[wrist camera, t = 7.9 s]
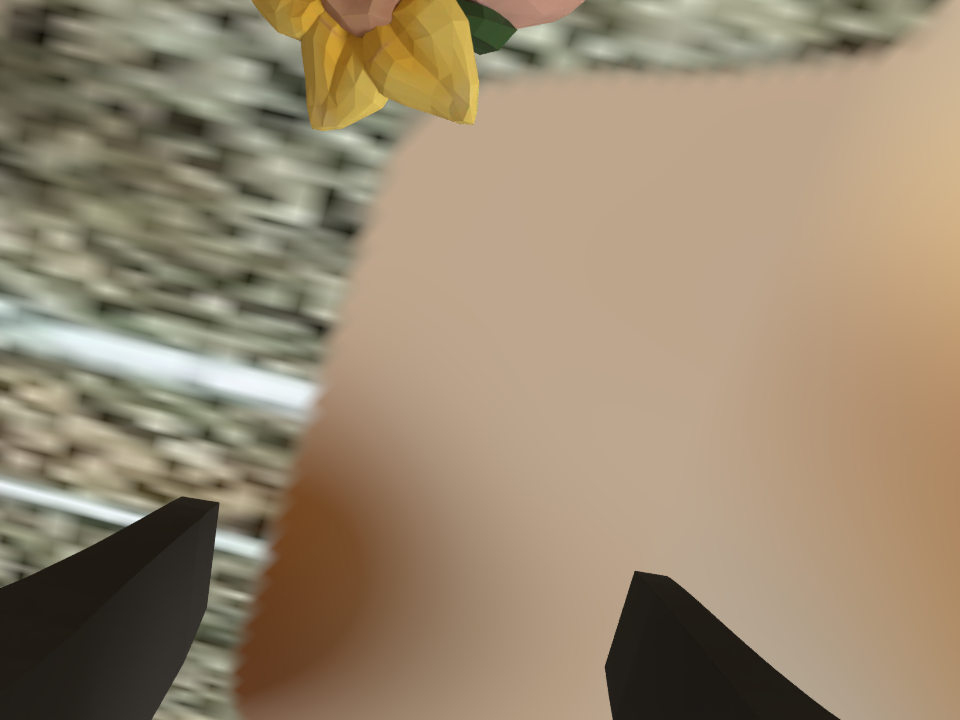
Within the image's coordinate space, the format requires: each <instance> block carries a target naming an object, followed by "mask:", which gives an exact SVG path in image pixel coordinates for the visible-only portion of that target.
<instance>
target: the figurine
mask: <svg viewBox="0 0 960 720" xmlns="http://www.w3.org/2000/svg"><path fill="white" fill-rule="evenodd" d="M584 1H585V0H252V2H253V3H254V4H255V6H256V7H257V9H258V10H259V11H260V13H261V14H262V16H263V17H264V18H265V19H266V20H267V21H268V22H269V23H270V24H271V25H272V26H273V27H274V28H275V30H276V31H277V32H279V33H281V34H284V35H286V36H289V37H292V38H294V39H297V40H299V41H301V49H302V57H303V65H304V72H305V79H306V97H307V109H308V114H309V119H310V123H311V126H312V129H316V130H320V131H326V130H335V129H342V128H344V127H346V126H348V125H350V124H352V123H354V122H356V121H358V120H360V119H362V118H364V117H366V116H368V115H370V114H372V113H374V112H376V111H378V110H380V109H382V108H383V106H384V105H385V103H386V102H387V100H388V99H391V100H393V101H396V102H398V103H400V104H402V105H405V106H408V107H411V108H414V109H417V110H420V111H424V112H427V113H430V114H433V115H436V116H439V117H442V118H445V119H447V120H450V121H453V122H456V123H458V124H472V125H473V124H474V121H475V117H476V113H477V106H478V93H479V79H478V73H477V68H476V62H475V56H474V52H475V53H477V54H479V55H482V54H486V53H490V52H494V51H498V50H500V48H501V47H502V46H503V45H504V44H505V43H506V42H507V41H508V40H509V38H510V37H511V36H512V35H513V34H514V33H515V32H516V31H517V29H518V28H523V27H529V26H534V25H539V24H545V23H550V22H554V21H556V20H558V19H560V18H562V17H564V16H566V15H568V14H569V13H570V12H572V11H573V10H574V9H575V8H576V7H578V6H579V5H580V4H581V3H583V2H584Z"/></svg>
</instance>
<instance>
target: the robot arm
mask: <svg viewBox="0 0 960 720" xmlns="http://www.w3.org/2000/svg"><path fill="white" fill-rule="evenodd" d="M218 511H219V502H213V501H206V500H200V499H194V498H188V497H180V498H178V499H176V500H174V501H172V502H170V503H168V504H167V505H165V506H163V507H161V508H159V509H158V510H156V511H154V512H152V513H151V514H149V515H147V516H145V517H144V518H142V519H140V520H138V521H136V522H135V523H133V524H131V525H129V526H127V527H126V528H124V529H122V530H120V531H118V532H116V533H115V534H113V535H111V536H109V537H107V538H105V539H103V540H102V541H100V542H98V543H96V544H94V545H92V546H90V547H88V548H86V549H84V550H82V551H80V552H78V553H76V554H74V555H72V556H70V557H68V558H66V559H64V560H62V561H60V562H57V563H55V564H53V565H51V566H49V567H47V568H45V569H43V570H41V571H39V572H37V573H35V574H33V575H30V576H28V577H26V578H23V579H21V580H19V581H17V582H14V583H12V584H9V585H7V586H5V587H2V588H0V720H152V718H153V716H154V714H155V713H156V711H157V709H158V707H159V706H160V704H161V702H162V700H163V699H164V697H165V695H166V693H167V691H168V690H169V688H170V686H171V684H172V683H173V681H174V679H175V677H176V676H177V674H178V672H179V670H180V668H181V667H182V665H183V663H184V661H185V659H186V656H187V654H188V652H189V649H190V647H191V645H192V642H193V640H194V638H195V635H196V633H197V630H198V628H199V625H200V623H201V620H202V618H203V616H204V613H205V611H206V608H207V602H208V594H209V585H210V577H211V569H212V560H213V552H214V544H215V535H216V527H217V519H218ZM605 672H606V679H607V686H608V693H609V700H610V706H611V712H612V717H613V720H840V719H839V718H837V717H836V716H834V715H833V714H831V713H830V712H829V711H827V710H826V709H825V708H823V707H822V706H821V705H819V704H818V703H817V702H816V701H814V700H813V699H812V698H810V697H809V696H808V695H806V694H805V693H804V692H803V691H801V690H800V689H799V688H798V687H797V686H795V685H794V684H793V683H792V682H790V681H789V680H788V679H787V678H785V677H784V676H783V675H782V674H780V673H779V672H778V671H776V670H775V669H774V668H773V667H772V666H771V665H770V664H768V663H767V662H766V661H765V660H764V659H763V658H761V657H760V656H759V655H758V654H757V653H756V652H754V651H753V650H752V649H751V648H750V647H749V646H748V645H746V644H745V643H744V642H743V641H742V640H741V639H740V638H738V637H737V636H736V635H735V634H734V633H733V632H732V631H731V630H730V629H728V628H727V627H726V626H725V625H724V624H723V623H722V622H721V621H720V620H719V619H717V618H716V617H715V616H714V615H713V614H712V613H711V612H710V611H709V610H708V609H706V608H705V607H704V606H703V605H702V604H701V603H700V602H699V601H697V600H696V599H695V598H694V597H693V596H692V595H691V594H689V593H688V592H687V591H686V590H685V589H684V588H682V587H681V586H680V585H679V584H677V583H676V582H675V581H673V580H672V579H671V578H669V577H668V576H663V575H657V574H651V573H645V572H639V571H635V572H634V575H633V578H632V581H631V584H630V588H629V591H628V594H627V597H626V601H625V604H624V607H623V610H622V613H621V617H620V619H619V623H618V626H617V629H616V632H615V635H614V639H613V642H612V645H611V648H610V652H609V655H608V658H607V661H606V664H605Z"/></svg>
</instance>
